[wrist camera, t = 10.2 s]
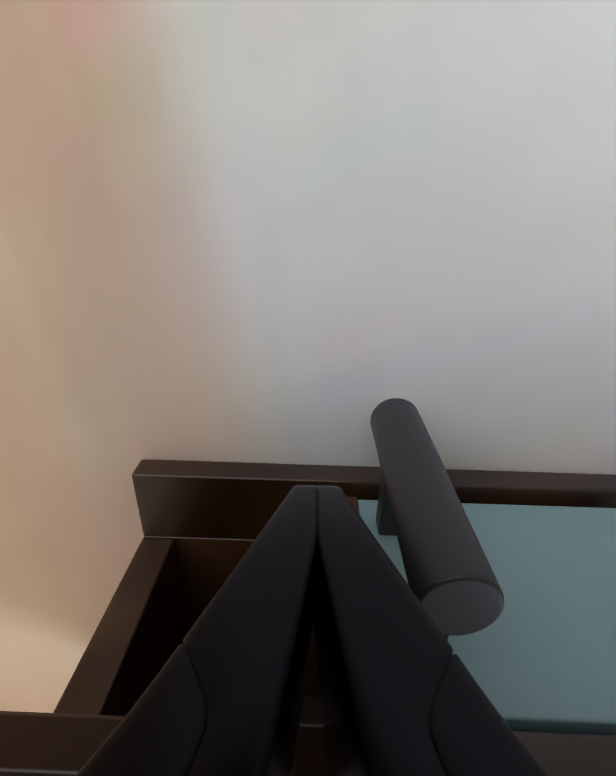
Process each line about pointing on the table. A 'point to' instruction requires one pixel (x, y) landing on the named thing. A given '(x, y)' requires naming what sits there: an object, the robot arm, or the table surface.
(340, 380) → the table surface
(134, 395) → the table surface
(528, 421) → the table surface
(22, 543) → the table surface
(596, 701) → the cabinet door
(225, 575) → the display cabinet
